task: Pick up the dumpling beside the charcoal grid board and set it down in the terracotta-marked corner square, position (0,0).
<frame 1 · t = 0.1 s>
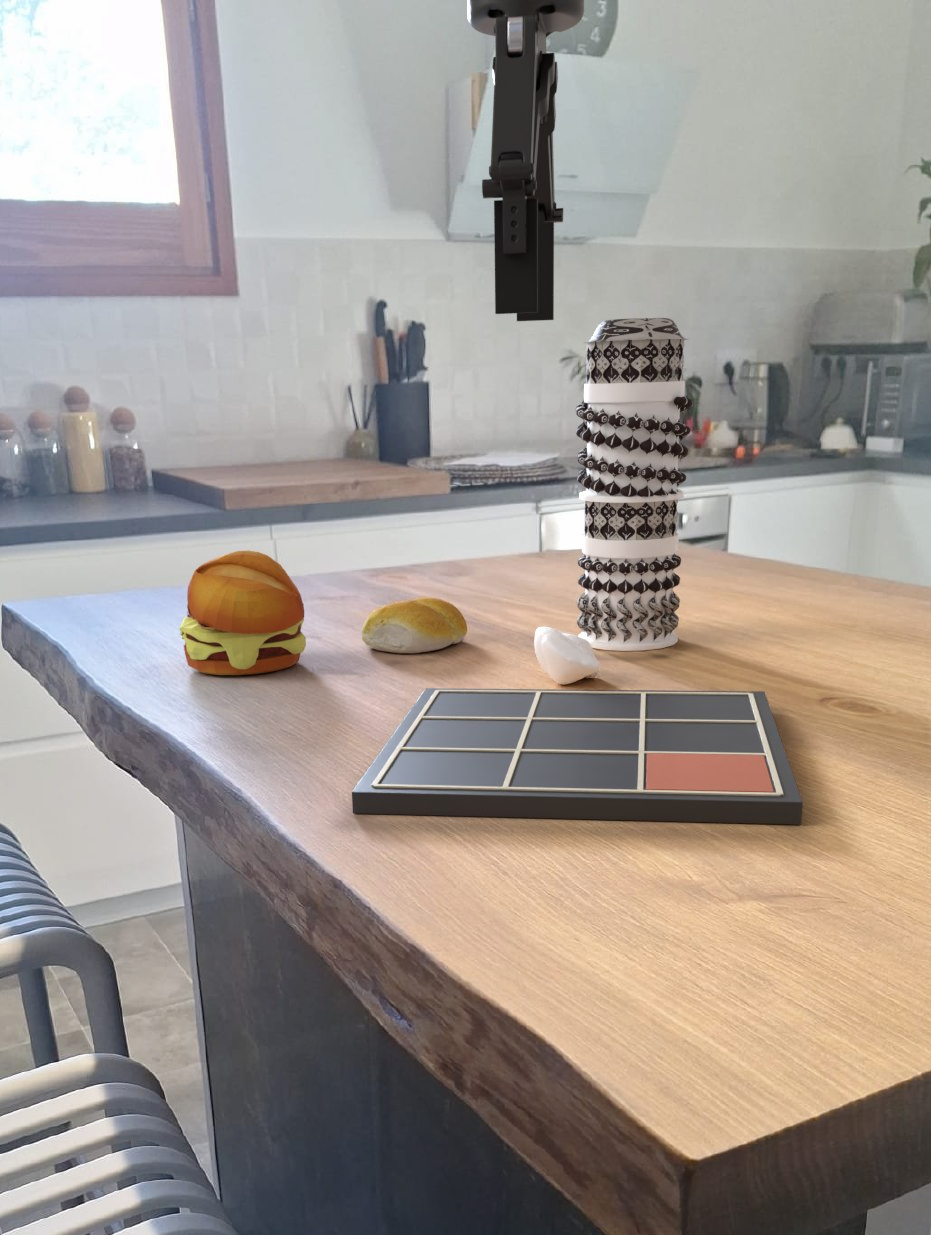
hand: (526, 318, 86), 25 cm above the table, tool pointing down, fingers open, 13 cm apart
bread roll: (415, 646, 106), on the table
cheeseburger: (249, 669, 99), on the table
decorative candle: (627, 642, 105), on the table
board: (582, 755, 74), on the table
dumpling: (569, 683, 92), on the table
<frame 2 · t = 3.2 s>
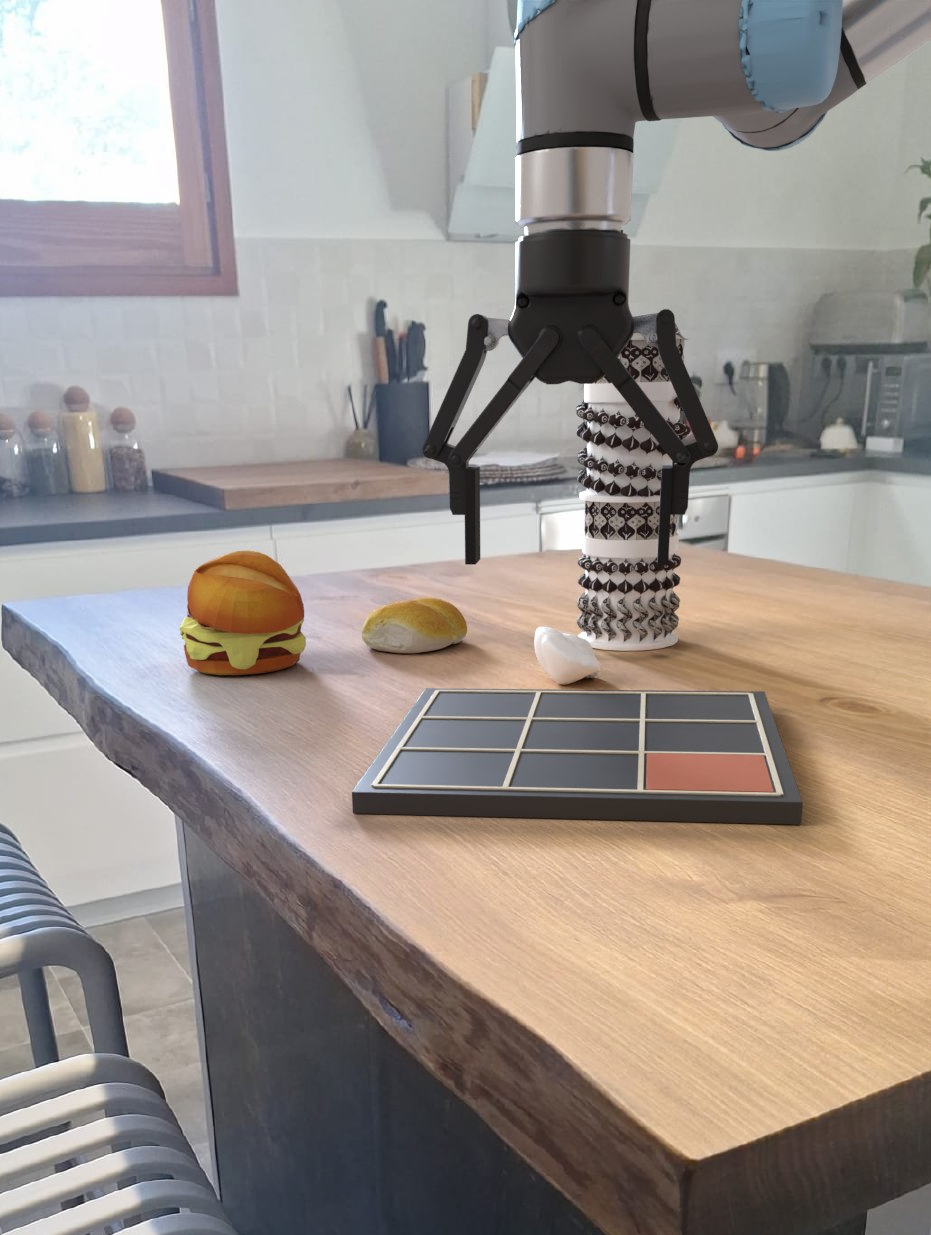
hand: (566, 563, 89), 9 cm above the table, tool pointing down, fingers open, 13 cm apart
nothing on the table moved.
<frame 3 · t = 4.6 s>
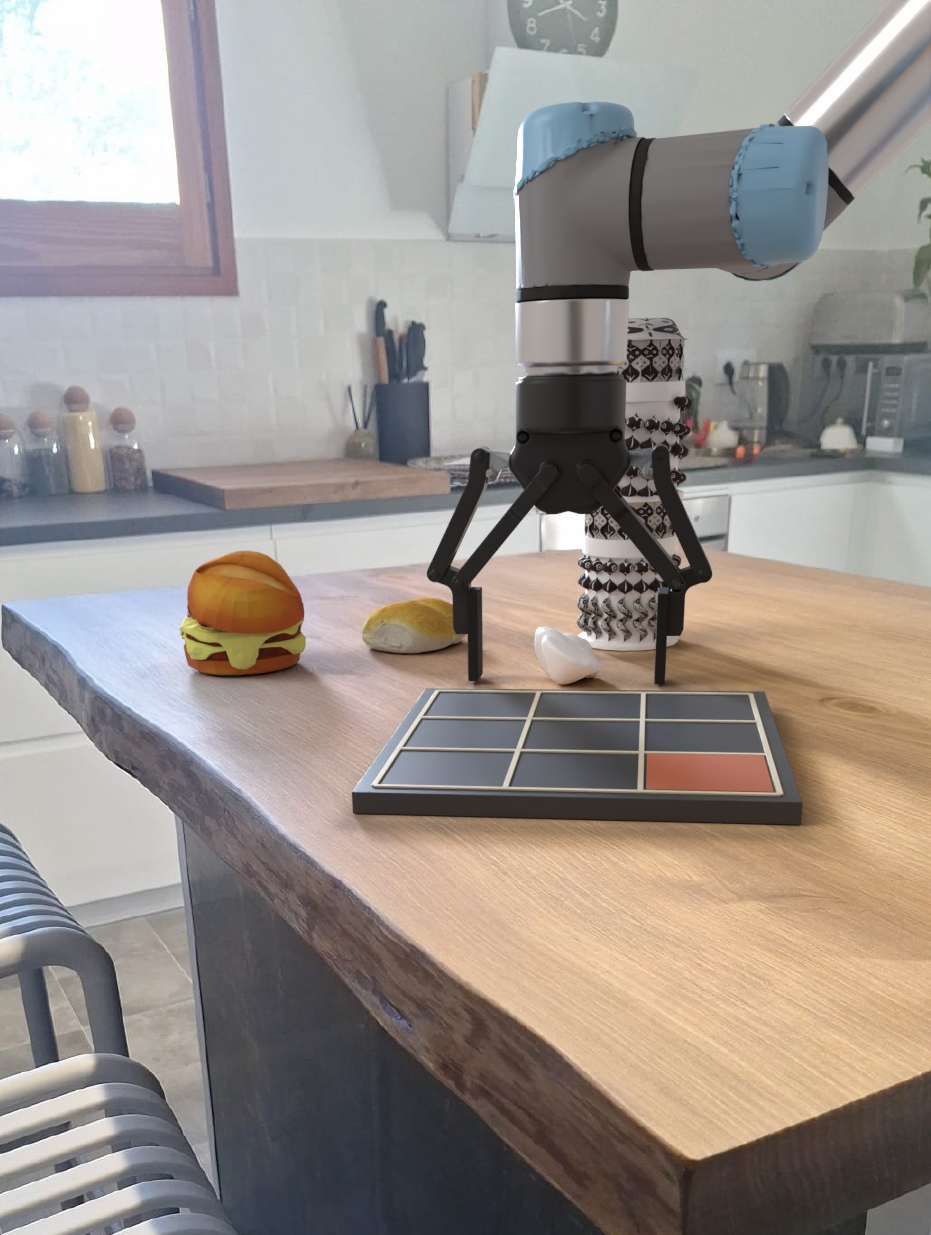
hand: (566, 679, 92), 0 cm above the table, tool pointing down, fingers open, 13 cm apart
nothing on the table moved.
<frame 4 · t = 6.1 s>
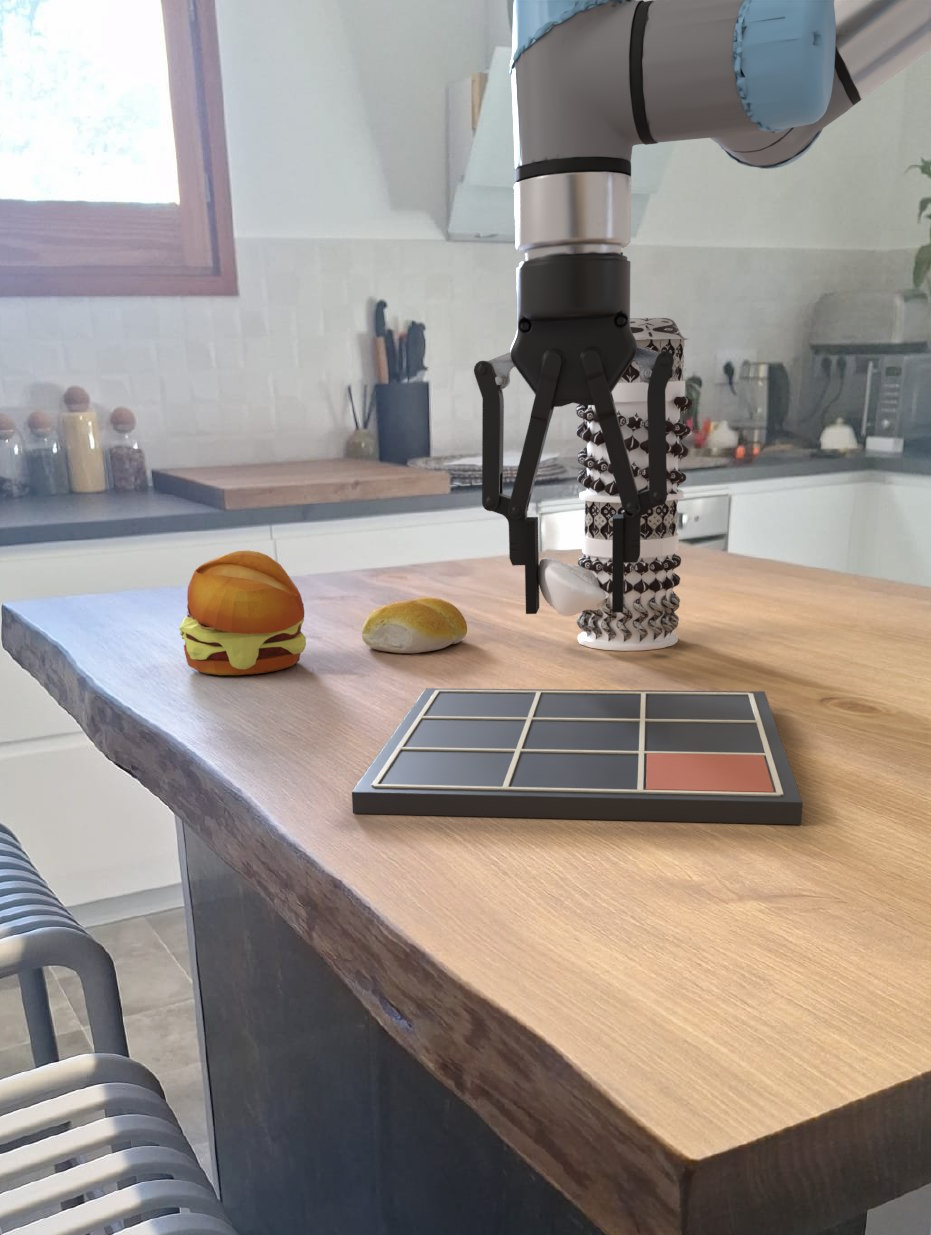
hand: (575, 609, 90), 5 cm above the table, tool pointing down, fingers closed on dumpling, 5 cm apart
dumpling: (573, 616, 90), point 5 cm above the table, touching gripper
everything else where it was.
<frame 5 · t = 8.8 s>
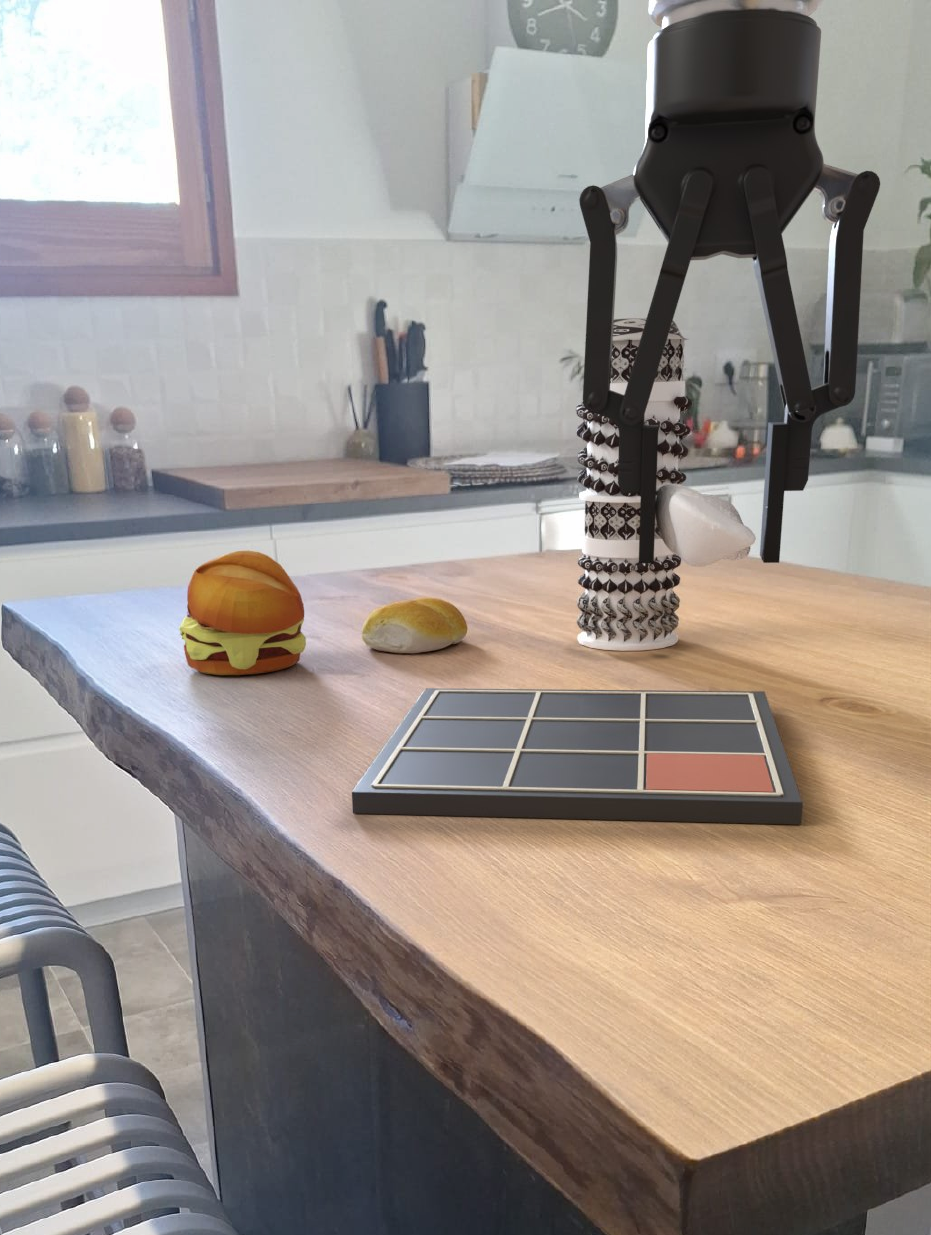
hand: (707, 558, 63), 12 cm above the table, tool pointing down, fingers closed on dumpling, 5 cm apart
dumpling: (704, 567, 63), point 12 cm above the table, touching gripper
everything else where it was.
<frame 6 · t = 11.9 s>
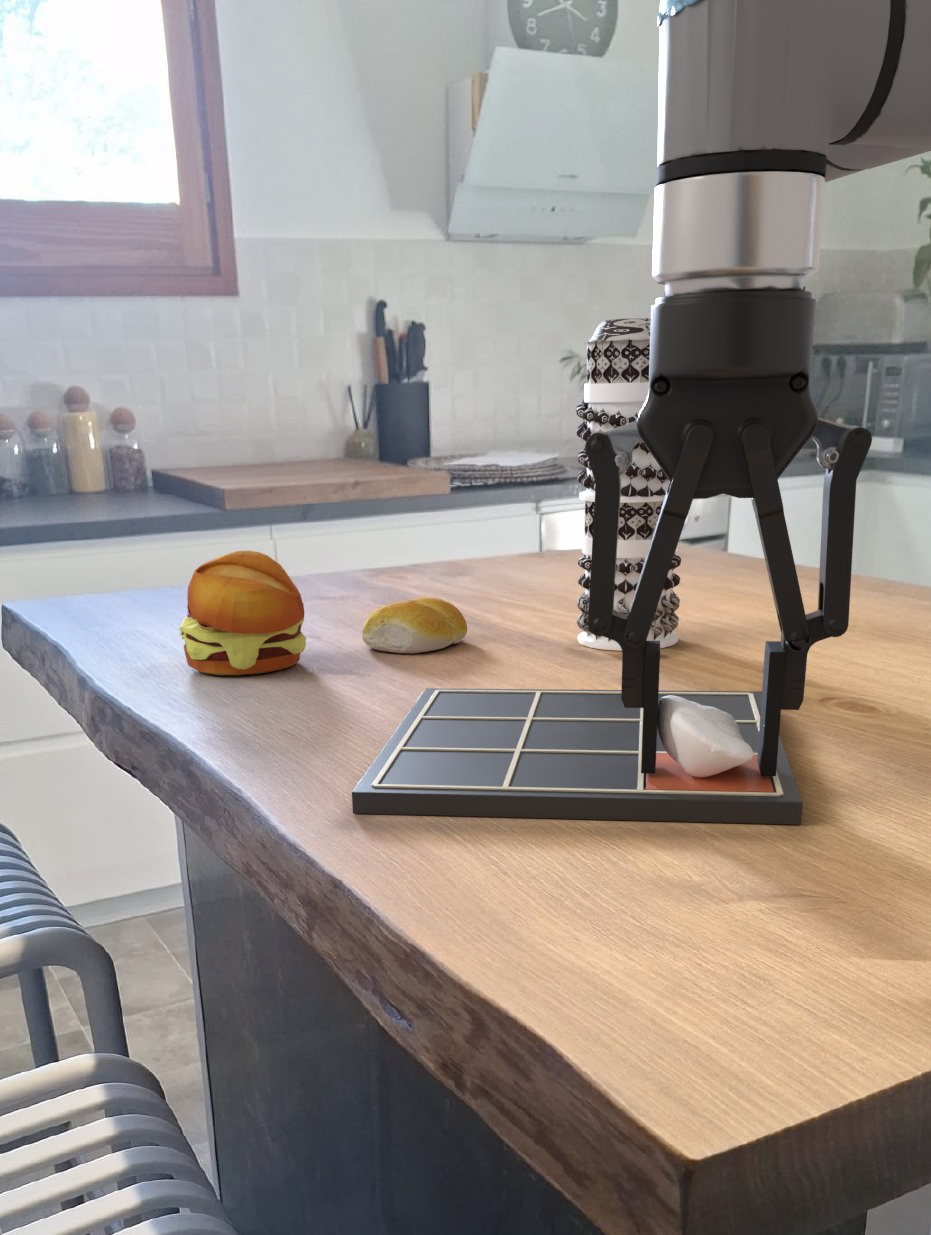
hand: (707, 766, 66), 2 cm above the table, tool pointing down, fingers closed on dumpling, 5 cm apart
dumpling: (704, 774, 66), point 1 cm above the table, touching board, gripper
everything else where it was.
when the fingers open (2 cm above the table, at t = 11.9 s): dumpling stays where it is, resting on board.
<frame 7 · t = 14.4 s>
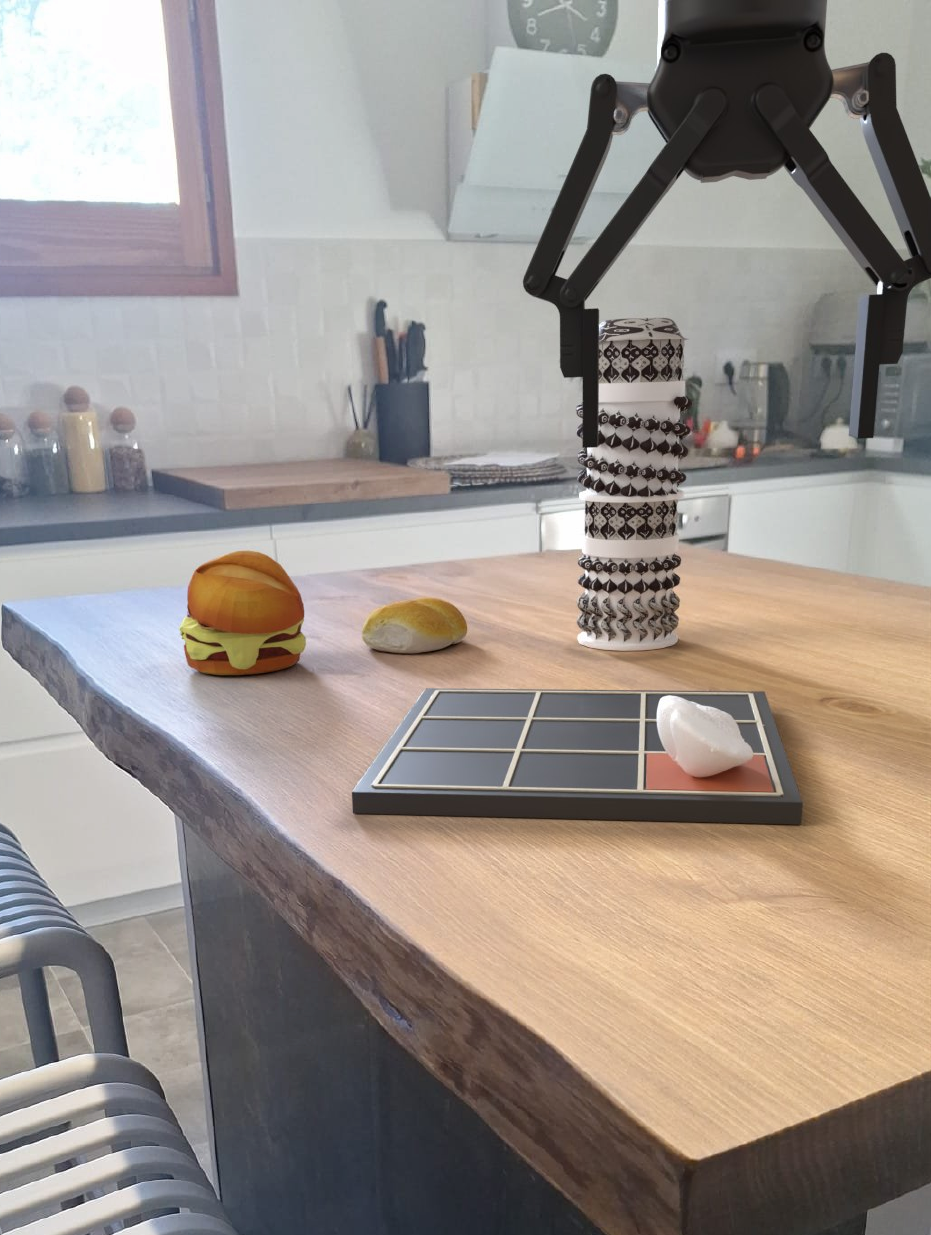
hand: (723, 442, 63), 18 cm above the table, tool pointing down, fingers open, 13 cm apart
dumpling: (704, 774, 66), point 1 cm above the table, touching board
everything else where it was.
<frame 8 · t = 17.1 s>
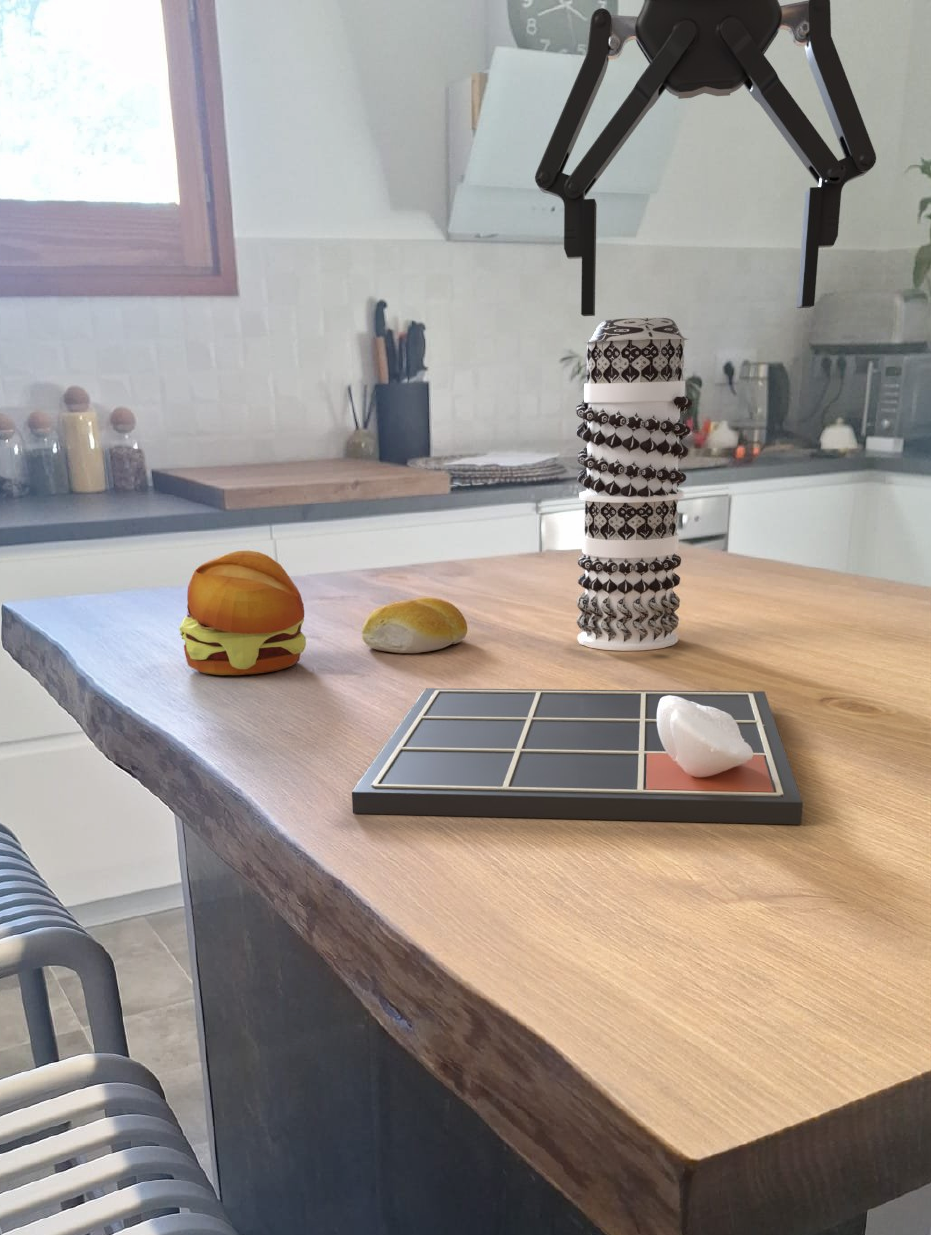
hand: (695, 312, 79), 25 cm above the table, tool pointing down, fingers open, 13 cm apart
nothing on the table moved.
at the end: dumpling inside the target area on the board (0.1 cm from its centre), point 1.1 cm above the board's base; the gripper is holding nothing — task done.
